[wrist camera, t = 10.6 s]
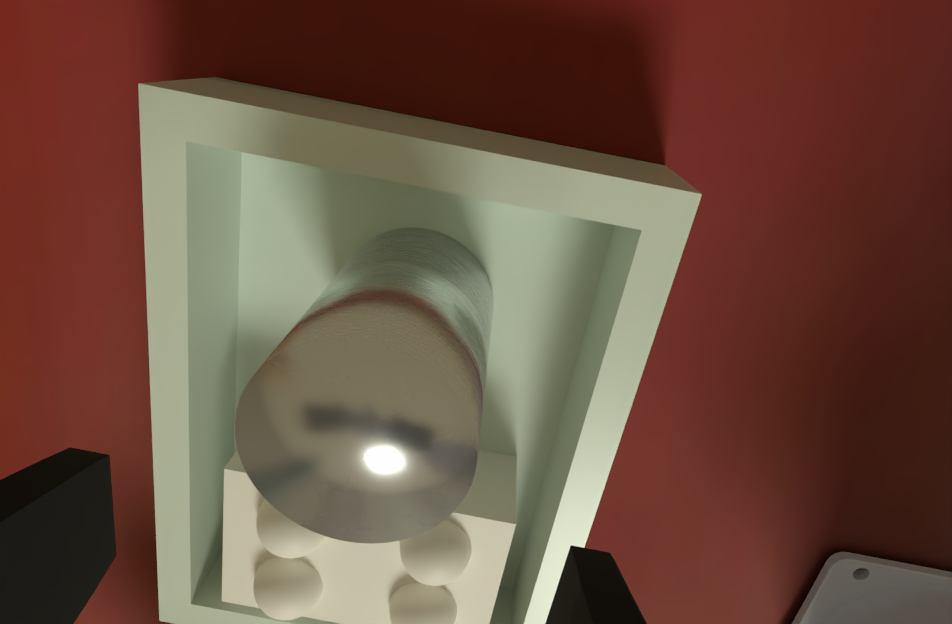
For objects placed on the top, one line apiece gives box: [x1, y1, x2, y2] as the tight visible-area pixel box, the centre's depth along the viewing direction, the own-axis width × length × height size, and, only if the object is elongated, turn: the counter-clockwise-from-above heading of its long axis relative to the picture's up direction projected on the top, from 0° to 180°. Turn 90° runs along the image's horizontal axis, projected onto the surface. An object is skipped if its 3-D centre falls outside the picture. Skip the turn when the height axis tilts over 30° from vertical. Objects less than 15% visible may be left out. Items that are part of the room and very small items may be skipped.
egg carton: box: [222, 449, 517, 624], centre depth 18 cm, size 8×5×4 cm, turn 80°
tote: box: [138, 77, 702, 624], centre depth 18 cm, size 12×16×4 cm
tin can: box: [235, 227, 494, 544], centre depth 14 cm, size 4×4×7 cm
